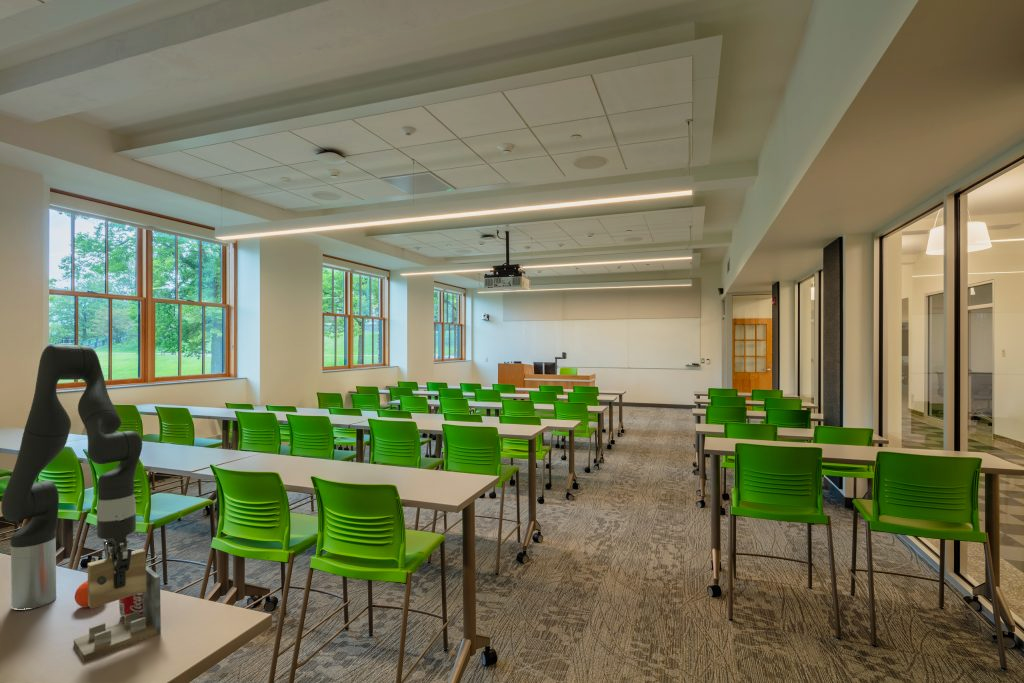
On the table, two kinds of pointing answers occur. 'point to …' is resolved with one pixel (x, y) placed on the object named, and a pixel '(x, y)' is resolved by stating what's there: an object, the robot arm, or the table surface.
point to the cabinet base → (125, 625)
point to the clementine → (82, 595)
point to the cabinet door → (103, 580)
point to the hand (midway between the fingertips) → (117, 585)
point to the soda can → (131, 604)
